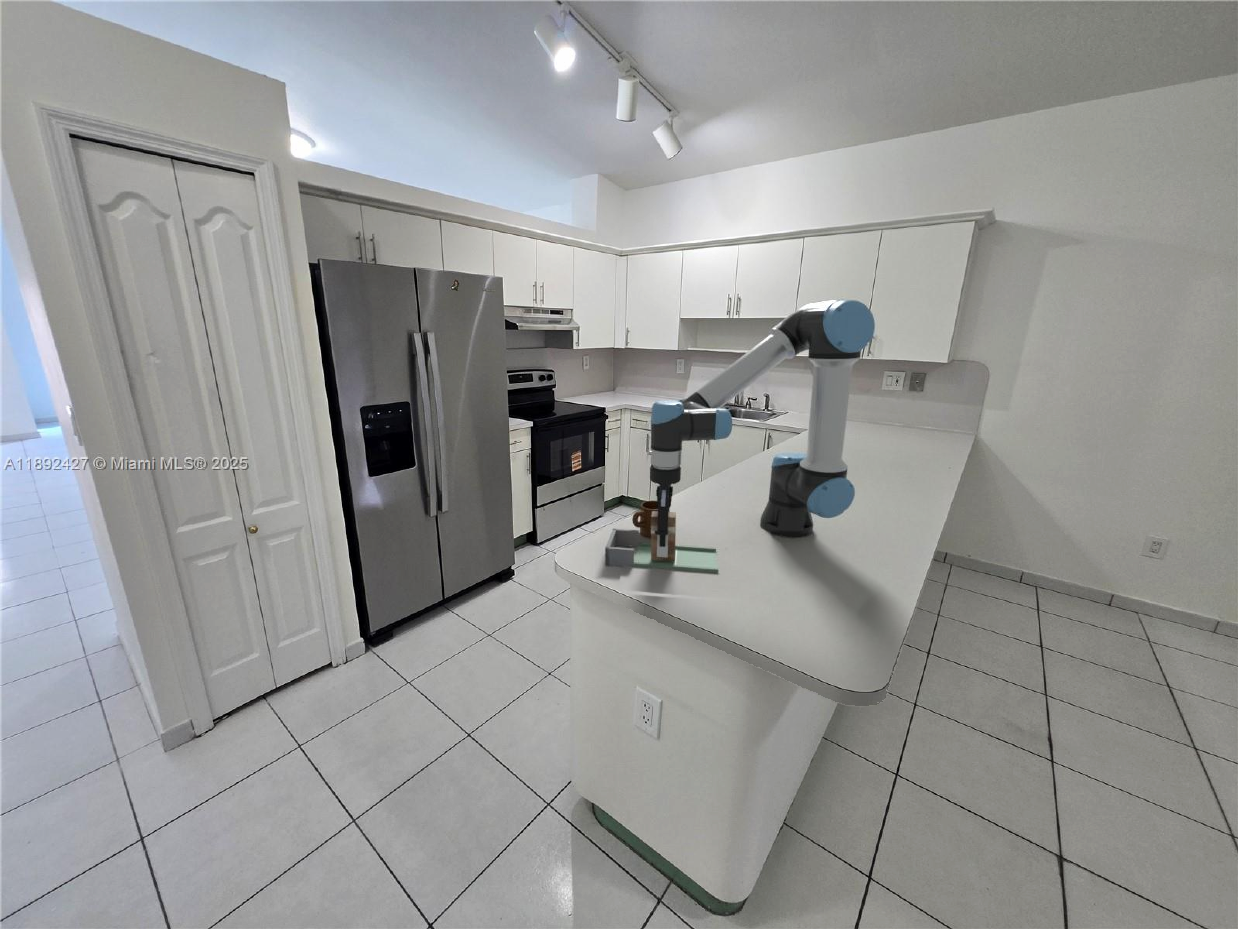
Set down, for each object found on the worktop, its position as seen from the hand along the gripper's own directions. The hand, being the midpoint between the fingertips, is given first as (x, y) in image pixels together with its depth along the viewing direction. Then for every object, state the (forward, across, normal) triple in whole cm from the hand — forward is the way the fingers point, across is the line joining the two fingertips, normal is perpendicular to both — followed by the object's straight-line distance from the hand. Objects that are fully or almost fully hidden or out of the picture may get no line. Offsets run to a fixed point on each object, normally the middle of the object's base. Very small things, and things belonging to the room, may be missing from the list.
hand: (662, 552), depth 119 cm
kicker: (+2, 0, 0) cm, 2 cm away
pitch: (+3, -2, 0) cm, 3 cm away
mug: (+3, -14, -5) cm, 16 cm away
